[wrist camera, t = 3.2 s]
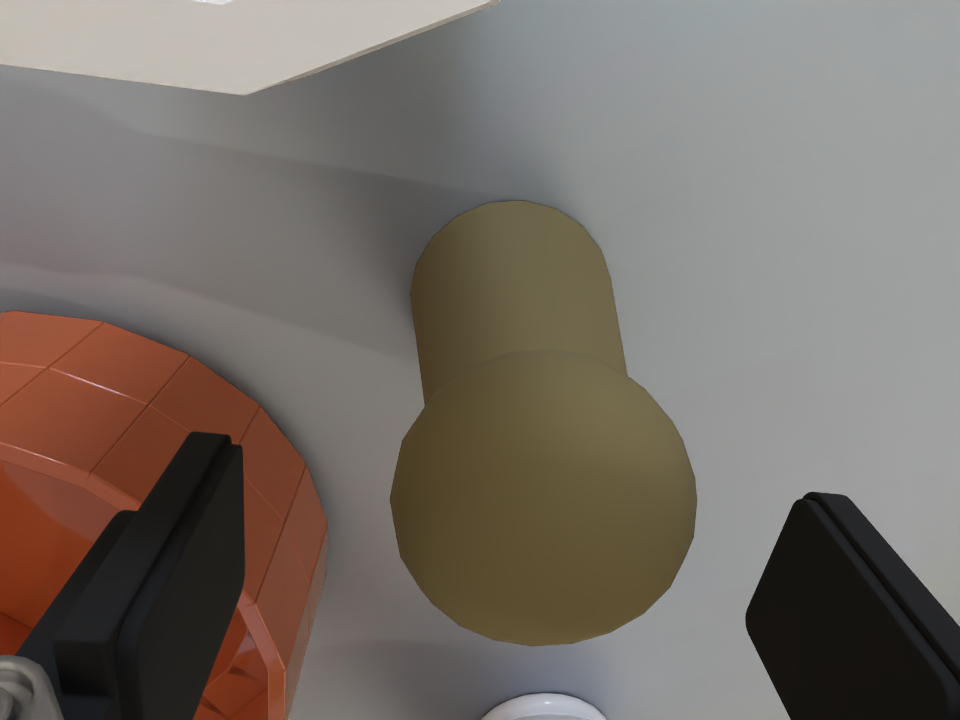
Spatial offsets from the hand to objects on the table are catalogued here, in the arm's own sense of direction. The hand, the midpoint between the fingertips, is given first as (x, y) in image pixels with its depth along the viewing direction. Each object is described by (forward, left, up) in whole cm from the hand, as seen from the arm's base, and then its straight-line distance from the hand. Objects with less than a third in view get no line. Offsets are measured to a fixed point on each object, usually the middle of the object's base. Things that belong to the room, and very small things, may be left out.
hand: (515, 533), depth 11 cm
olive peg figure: (0, 0, -10) cm, 10 cm away
